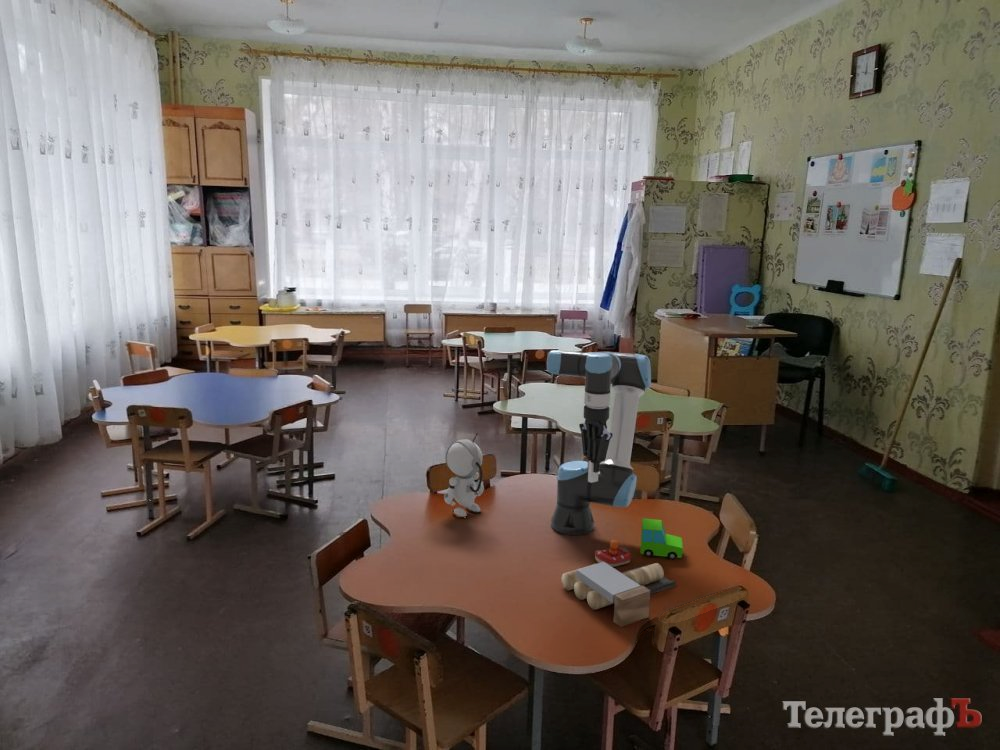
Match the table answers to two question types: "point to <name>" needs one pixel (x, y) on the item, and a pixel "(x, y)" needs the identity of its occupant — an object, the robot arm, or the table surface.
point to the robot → (464, 475)
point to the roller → (646, 574)
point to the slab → (605, 580)
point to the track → (618, 597)
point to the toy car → (659, 541)
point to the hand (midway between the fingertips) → (592, 481)
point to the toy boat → (613, 555)
